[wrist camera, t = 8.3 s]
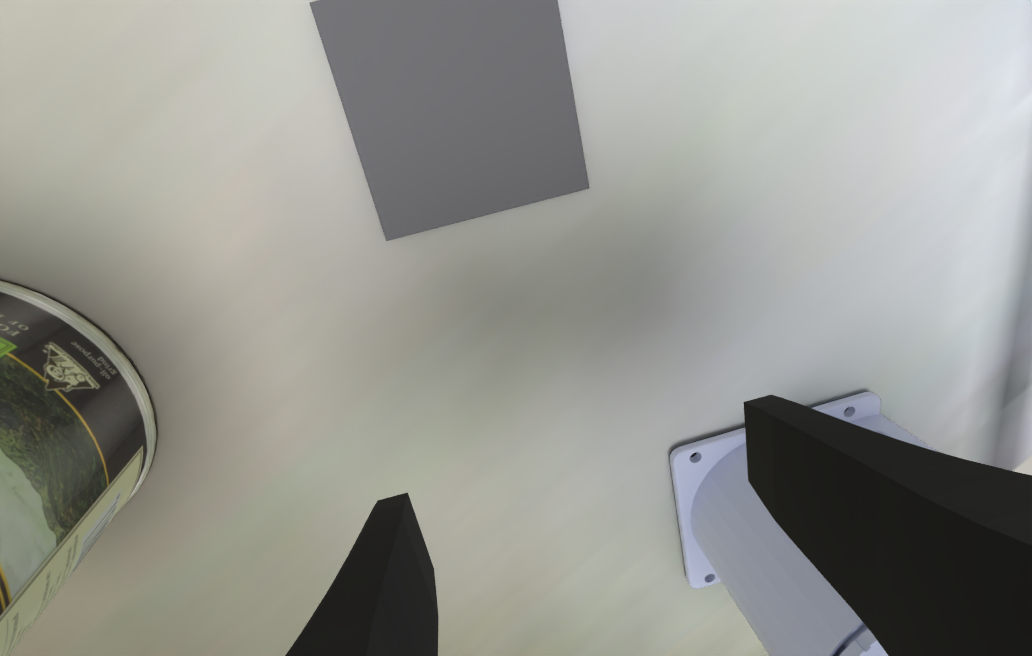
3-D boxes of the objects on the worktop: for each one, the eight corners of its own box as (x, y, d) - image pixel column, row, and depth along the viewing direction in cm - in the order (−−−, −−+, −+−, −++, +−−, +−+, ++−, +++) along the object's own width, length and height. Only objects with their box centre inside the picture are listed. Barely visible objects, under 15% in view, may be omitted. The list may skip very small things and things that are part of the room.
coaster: (545, -49, 17) (548, -53, 16) (586, 186, 19) (589, 188, 19) (311, 5, 16) (309, 2, 16) (387, 238, 19) (386, 240, 18)
